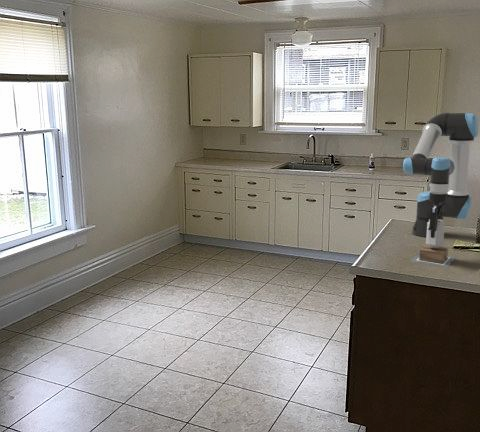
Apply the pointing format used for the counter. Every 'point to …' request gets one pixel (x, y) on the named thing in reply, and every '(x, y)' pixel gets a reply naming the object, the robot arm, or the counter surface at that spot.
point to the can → (439, 235)
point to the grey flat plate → (445, 263)
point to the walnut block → (433, 254)
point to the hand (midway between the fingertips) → (434, 242)
